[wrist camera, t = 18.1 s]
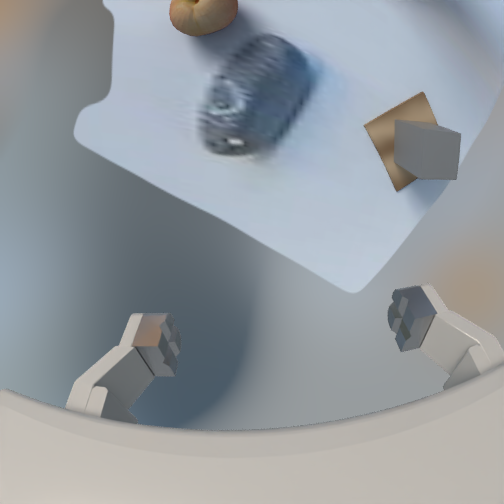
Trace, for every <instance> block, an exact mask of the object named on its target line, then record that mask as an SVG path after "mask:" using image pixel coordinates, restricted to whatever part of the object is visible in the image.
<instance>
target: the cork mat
mask: <svg viewBox="0 0 504 504" xmlns="http://www.w3.org/2000/svg"><path fill="white" fill-rule="evenodd" d="M395 119H397V120H409V121H420V122H429V123H432V124H435V125H438V124H437V122H436V119H435V117H434V114H433V112H432V110H431V107H430V105H429V103H428V100H427V98H426V96H425V94H424V92H421V93H419V94H417V95H415V96H414V97H412V98H410V99H408V100H406V101H405V102H403V103H401V104H399V105H398V106H396V107H394V108H392V109H391V110H389V111H387V112H385V113H384V114H382V115H380V116H379V117H377V118H375V119H373V120H372V121H370V122H368V123H367V124H365V125H364V127H365V128H366V130H367V132H368V134H369V136H370V138H371V140H372V141H373V143H374V145H375V147H376V149H377V151H378V153H379V155H380V157H381V159H382V161H383V163H384V165H385V167H386V169H387V172H388V174H389V176H390V178H391V180H392V183H393V185H394V187H395V189H396V191H399V190H400V189H402V188H403V187H405V186H406V185H408V184H410V183H411V182H413V181H414V180H416V179H417V178H418V177H416V176H415V175H413V174H412V173H410V172H409V171H407V170H406V169H404V168H403V167H401V166H400V165H398V164H397V163H395V162H394V134H395Z"/></svg>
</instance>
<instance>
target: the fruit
mask: <svg viewBox="0 0 504 504" xmlns="http://www.w3.org/2000/svg"><path fill="white" fill-rule="evenodd" d="M237 10H238V1H237V0H172V1H171V4H170V13H169V15H170V20H171V22H172V24H173V26H174V27H175V28H176V29H177V30H179V31H180V32H182V33H184V34H187V35H189V36H201V35H206V34H210V33H213V32H216V31H219V30H221V29H223V28H225V27H226V26H228V25H229V24H230V23H231V22H232V21H233V19H234V18H235V17H236V14H237Z"/></svg>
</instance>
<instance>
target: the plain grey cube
mask: <svg viewBox="0 0 504 504" xmlns="http://www.w3.org/2000/svg"><path fill="white" fill-rule="evenodd" d="M460 141H461V134H460V133H458V132H455V131H452V130H450V129H447V128H444V127H441V126H438V125H435V124H432V123H429V122H420V121H409V120H397V119H395V134H394V162H395V163H397V164H398V165H400V166H401V167H403V168H404V169H406V170H407V171H409V172H410V173H412V174H413V175H415V176H416V177H418V178H419V179H439V180H456V179H457V171H458V163H459V153H460Z"/></svg>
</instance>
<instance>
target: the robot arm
mask: <svg viewBox="0 0 504 504" xmlns="http://www.w3.org/2000/svg"><path fill="white" fill-rule="evenodd" d="M392 299H393V301H394V302H393V303H392V304H391V305H390V306H389V310H388V322H389V326H390V328H391V330H392V331H394V332H395V333H397V335H396V338H395V340H396V341H397V344H398V346H399V349H400V351H401V352H404V351H408V350H412V349H416V348H420V350H421V351H423V352H424V353H425V354H426V355H427V356H428V357H430V358H431V359H432V360H433V361H434V362H435V363H436V364H438V365H439V366H440V367H441V368H442V369H443V370H444V371H446V372H447V373H448V374H449V375H450V377H449V378H448V380H447V381H446V382H445V384H444V386H443V389H444V391H441V392H438V393H436V394H433V395H430V396H427V397H424V398H421V399H418V400H415V401H413V402H409V403H406V404H403V405H399V406H396V407H392V408H389V409H385V410H381V411H377V412H373V413H369V414H365V415H360V416H356V417H351V418H346V419H340V420H335V421H329V422H323V423H316V424H309V425H301V426H293V427H283V428H270V429H252V430H197V429H180V428H168V427H158V426H149V425H141V424H137V423H138V420H137V419H136V417H135V416H134V415H132V414H131V413H130V412H129V411H128V409H129V408H130V407H131V406H132V405H133V403H134V402H135V401H136V400H137V398H138V397H139V396H140V395H141V394H142V392H143V391H144V390H145V389H146V387H147V386H148V385H149V384H150V382H151V381H152V380H153V379H154V376H176V370H177V365H178V361H177V359H176V356H177V355H178V354H179V353H180V350H181V336H180V332H179V330H178V328H177V327H175V326H174V325H173V324H174V318H173V316H172V315H171V314H170V313H145V314H132V315H131V317H130V319H129V321H128V324H127V326H126V329H125V332H124V334H123V337H122V339H121V342H120V345H119V346H115V347H114V348H113V349H112V350H110V351H109V352H108V353H107V354H106V355H105V356H104V357H102V358H101V359H100V360H99V361H98V362H97V363H95V364H94V365H93V366H92V367H91V368H90V369H89V370H87V371H86V372H85V373H84V374H83V375H82V376H81V377H79V378H78V379H77V380H76V381H75V383H74V385H73V388H72V390H71V393H70V396H69V399H68V401H67V404H66V407H65V409H64V408H61V407H57V406H54V405H51V404H48V403H45V402H41V401H39V400H36V399H33V398H30V397H27V396H25V395H22V394H19V393H17V392H14V391H12V390H9V389H2V390H0V504H504V351H503V349H502V348H501V346H500V344H499V343H498V341H497V339H496V338H495V336H493V335H492V334H490V333H488V332H487V331H485V330H483V329H482V328H480V327H479V326H477V325H475V324H473V323H472V322H470V321H469V320H467V319H465V318H463V317H462V316H460V315H459V314H457V313H455V312H453V311H448V309H447V308H446V306H445V305H444V303H443V302H442V300H441V298H440V297H439V295H438V294H437V293H436V291H435V290H434V288H433V287H432V285H431V284H429V283H426V284H421V285H417V286H411V287H406V288H400V289H395V291H394V292H393V295H392Z"/></svg>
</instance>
